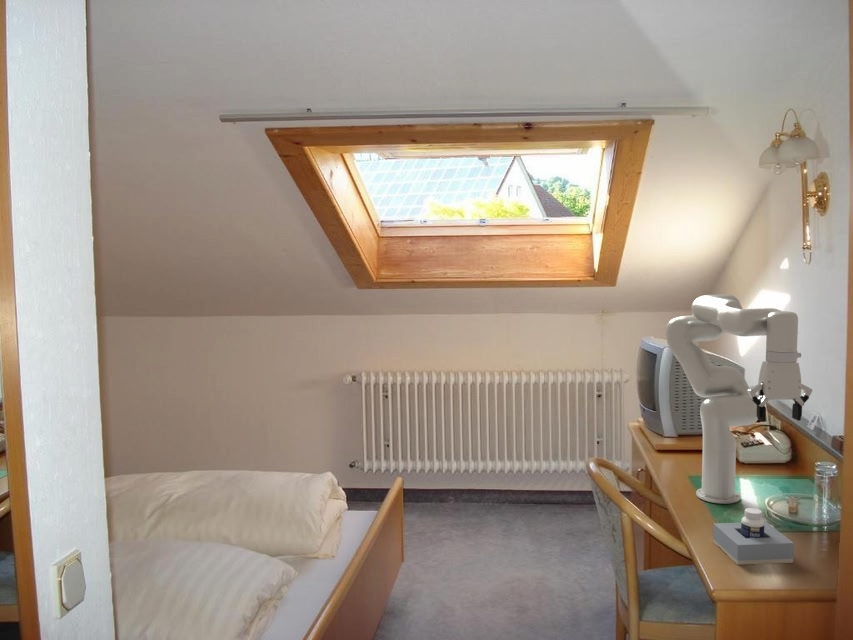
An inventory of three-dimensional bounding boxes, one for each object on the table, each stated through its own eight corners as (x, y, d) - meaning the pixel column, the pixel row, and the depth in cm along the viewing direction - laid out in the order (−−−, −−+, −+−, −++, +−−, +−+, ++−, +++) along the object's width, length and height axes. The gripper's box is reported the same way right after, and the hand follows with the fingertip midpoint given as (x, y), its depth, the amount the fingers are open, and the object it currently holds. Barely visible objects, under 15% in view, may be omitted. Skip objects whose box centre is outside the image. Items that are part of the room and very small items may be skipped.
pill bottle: (749, 553, 186) (750, 515, 185) (736, 544, 191) (736, 508, 190) (768, 550, 187) (769, 513, 186) (754, 542, 193) (755, 505, 192)
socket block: (712, 541, 196) (713, 523, 195) (764, 540, 197) (765, 521, 196) (737, 564, 182) (737, 545, 181) (793, 562, 183) (793, 543, 182)
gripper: (804, 354, 204) (802, 415, 206) (743, 356, 203) (741, 417, 205) (820, 358, 196) (817, 422, 198) (756, 360, 196) (754, 424, 198)
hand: (778, 419), depth 202 cm, fingers open, 9 cm apart
